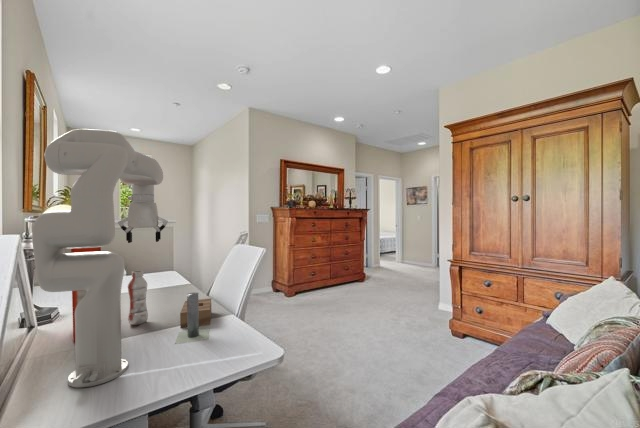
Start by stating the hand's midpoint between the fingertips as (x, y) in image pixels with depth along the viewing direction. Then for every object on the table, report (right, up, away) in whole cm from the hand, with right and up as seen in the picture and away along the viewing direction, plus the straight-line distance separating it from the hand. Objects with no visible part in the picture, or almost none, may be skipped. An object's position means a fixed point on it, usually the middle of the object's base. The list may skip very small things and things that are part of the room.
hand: (143, 242), depth 118 cm
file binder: (-12, -31, -13) cm, 36 cm away
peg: (+28, -30, -19) cm, 45 cm away
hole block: (+23, -30, -3) cm, 38 cm away
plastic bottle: (+1, -31, -6) cm, 31 cm away
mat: (+28, -30, -19) cm, 45 cm away
